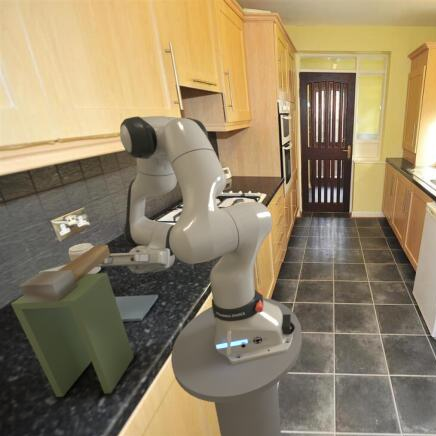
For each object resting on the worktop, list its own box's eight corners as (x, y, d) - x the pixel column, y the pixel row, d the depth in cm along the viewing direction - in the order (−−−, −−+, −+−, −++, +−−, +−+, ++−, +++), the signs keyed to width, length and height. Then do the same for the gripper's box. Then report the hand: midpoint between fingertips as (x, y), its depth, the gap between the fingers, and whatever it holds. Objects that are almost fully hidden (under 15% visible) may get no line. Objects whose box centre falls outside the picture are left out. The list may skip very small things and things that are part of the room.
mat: (158, 296, 95) (157, 294, 95) (141, 320, 84) (140, 318, 84) (111, 299, 94) (110, 297, 94) (88, 323, 83) (87, 321, 83)
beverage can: (82, 280, 105) (72, 253, 101) (73, 274, 109) (63, 248, 105) (105, 270, 112) (97, 245, 108) (95, 265, 116) (87, 240, 112)
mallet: (116, 254, 70) (112, 241, 69) (59, 301, 52) (52, 283, 51) (92, 255, 70) (88, 242, 68) (26, 302, 52) (18, 285, 51)
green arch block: (134, 357, 71) (107, 272, 62) (111, 393, 62) (75, 300, 53) (86, 360, 70) (52, 275, 61) (56, 397, 61) (10, 303, 52)
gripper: (110, 251, 88) (77, 249, 74) (174, 248, 89) (153, 245, 75) (109, 270, 87) (75, 272, 73) (174, 267, 88) (152, 268, 74)
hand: (115, 258), depth 74 cm, fingers open, 8 cm apart
